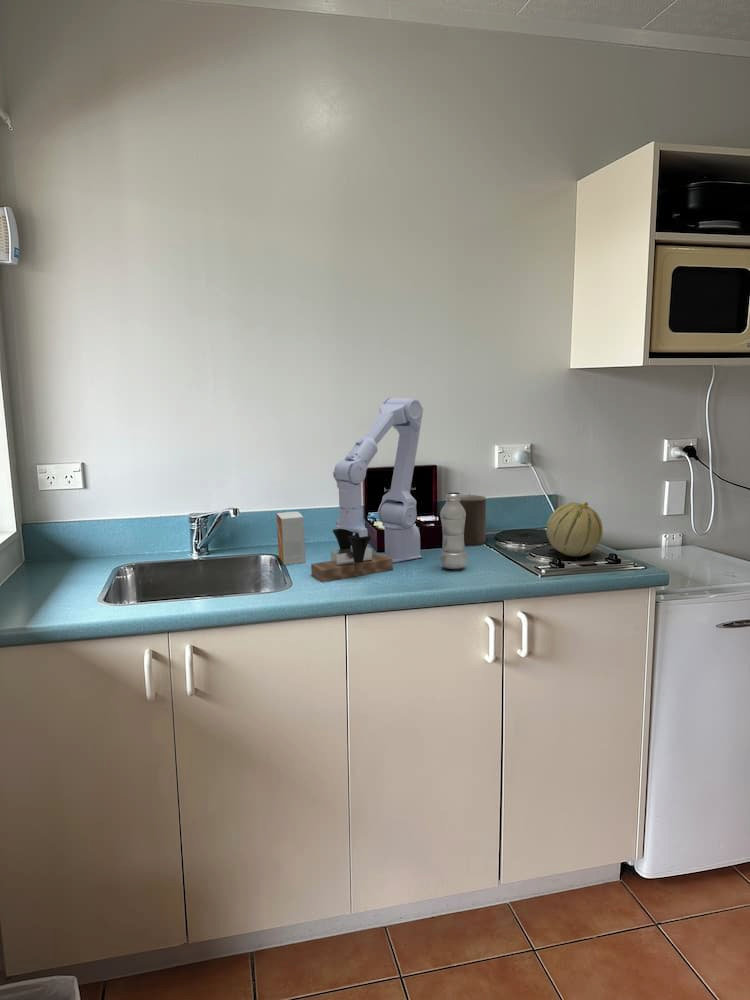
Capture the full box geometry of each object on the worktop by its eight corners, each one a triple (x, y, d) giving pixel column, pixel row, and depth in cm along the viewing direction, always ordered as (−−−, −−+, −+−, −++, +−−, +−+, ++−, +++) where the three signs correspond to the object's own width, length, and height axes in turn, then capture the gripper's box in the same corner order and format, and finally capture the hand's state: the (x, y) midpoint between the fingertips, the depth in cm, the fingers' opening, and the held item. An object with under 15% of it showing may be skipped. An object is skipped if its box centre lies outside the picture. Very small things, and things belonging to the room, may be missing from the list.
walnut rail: (380, 563, 190) (379, 553, 189) (392, 569, 184) (392, 558, 183) (311, 575, 181) (311, 564, 180) (322, 582, 175) (322, 570, 174)
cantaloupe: (541, 548, 201) (542, 497, 198) (593, 548, 200) (595, 496, 198) (552, 563, 186) (553, 507, 184) (608, 562, 186) (610, 506, 183)
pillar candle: (470, 547, 204) (471, 497, 202) (446, 542, 211) (446, 492, 209) (492, 542, 210) (493, 493, 208) (467, 536, 218) (468, 489, 215)
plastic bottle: (465, 572, 180) (465, 495, 176) (439, 571, 181) (438, 495, 177) (467, 565, 186) (467, 491, 182) (442, 564, 187) (441, 490, 184)
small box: (278, 558, 198) (276, 512, 196) (300, 555, 200) (298, 511, 198) (283, 565, 191) (280, 518, 188) (306, 562, 193) (304, 516, 190)
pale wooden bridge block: (366, 568, 186) (365, 546, 185) (372, 571, 183) (371, 549, 182) (331, 573, 181) (330, 551, 180) (337, 577, 178) (336, 554, 177)
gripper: (324, 504, 184) (326, 554, 186) (348, 513, 171) (350, 567, 173) (348, 501, 187) (350, 551, 189) (374, 510, 174) (375, 563, 177)
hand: (352, 558), depth 182 cm, fingers open, 7 cm apart
